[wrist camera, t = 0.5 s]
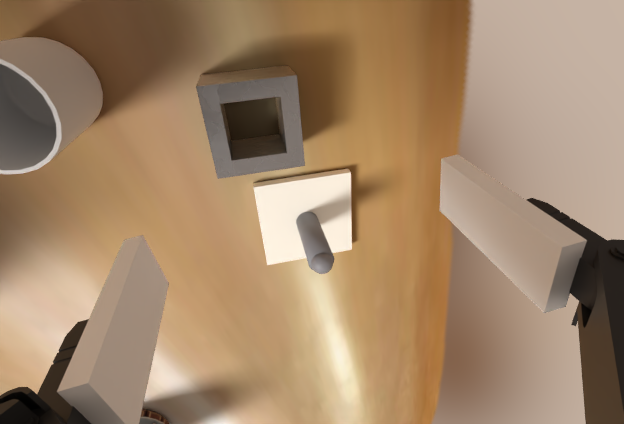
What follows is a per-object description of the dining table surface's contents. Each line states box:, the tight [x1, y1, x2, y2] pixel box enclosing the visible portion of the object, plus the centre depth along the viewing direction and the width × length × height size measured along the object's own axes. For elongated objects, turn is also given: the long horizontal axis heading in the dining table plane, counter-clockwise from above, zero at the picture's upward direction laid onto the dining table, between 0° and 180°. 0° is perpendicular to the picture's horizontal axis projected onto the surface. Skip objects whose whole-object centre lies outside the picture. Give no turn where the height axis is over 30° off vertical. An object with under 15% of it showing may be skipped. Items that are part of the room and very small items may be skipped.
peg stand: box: [253, 169, 352, 274], centre depth 35 cm, size 10×10×9 cm
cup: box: [0, 37, 103, 174], centre depth 24 cm, size 7×10×9 cm
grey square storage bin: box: [196, 65, 305, 179], centre depth 30 cm, size 7×7×5 cm
